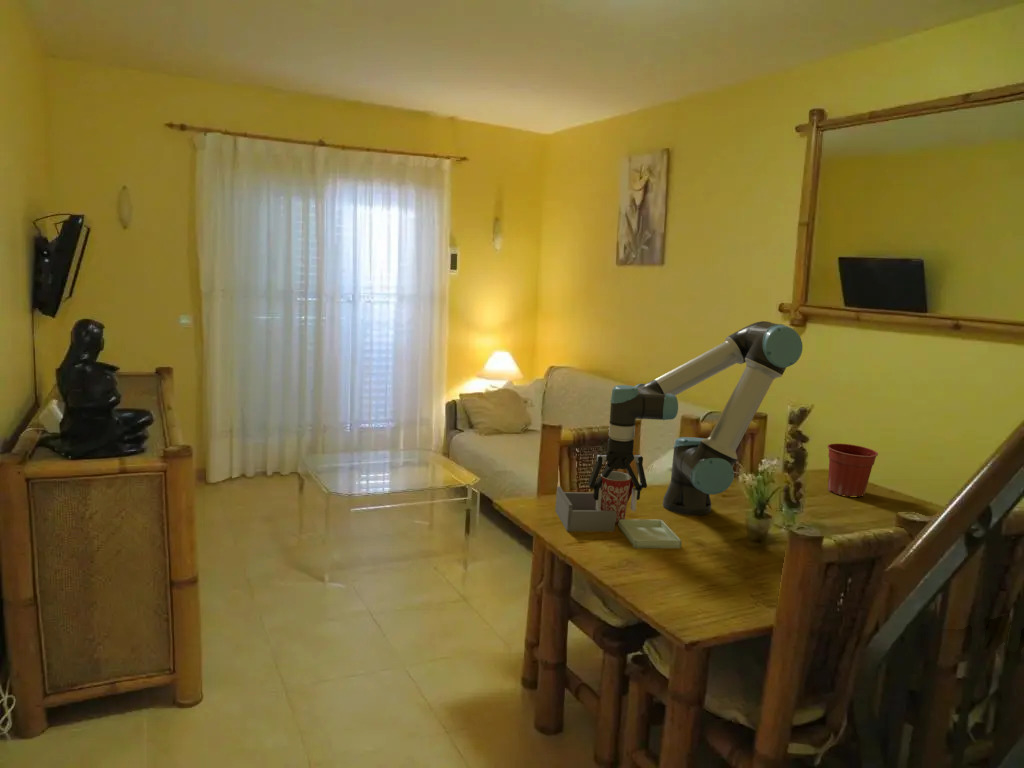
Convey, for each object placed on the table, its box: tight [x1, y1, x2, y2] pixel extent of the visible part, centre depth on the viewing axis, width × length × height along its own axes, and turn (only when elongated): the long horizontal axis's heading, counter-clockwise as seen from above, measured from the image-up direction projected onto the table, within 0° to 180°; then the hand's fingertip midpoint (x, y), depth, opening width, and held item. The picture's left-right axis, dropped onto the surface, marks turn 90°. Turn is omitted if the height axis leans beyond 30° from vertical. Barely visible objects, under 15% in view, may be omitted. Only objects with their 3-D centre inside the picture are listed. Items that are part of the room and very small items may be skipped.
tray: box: [617, 518, 682, 549], centre depth 208 cm, size 13×16×2 cm
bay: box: [554, 486, 616, 532], centre depth 217 cm, size 14×17×8 cm
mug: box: [600, 470, 635, 524], centre depth 218 cm, size 13×9×14 cm
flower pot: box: [827, 443, 879, 496], centre depth 260 cm, size 16×16×16 cm
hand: (615, 509), depth 219 cm, fingers closed on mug, 10 cm apart
